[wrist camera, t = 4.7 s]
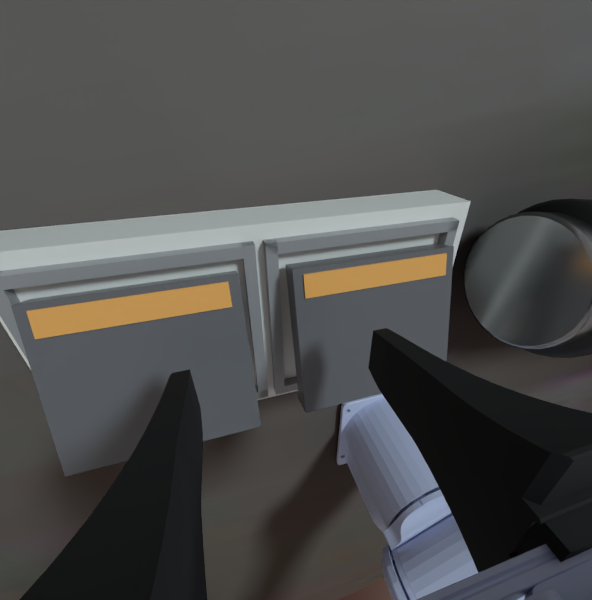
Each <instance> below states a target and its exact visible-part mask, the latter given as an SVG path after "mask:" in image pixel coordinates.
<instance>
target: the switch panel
mask: <svg viewBox="0 0 592 600" xmlns="http://www.w3.org/2000/svg"><path fill="white" fill-rule="evenodd" d="M470 202H471V201H468V200H465V199H462V198H459V197H456V196H453V195H450V194H447V193H444V192H442V191H439V190H429V191H418V192H408V193H397V194H386V195H376V196H365V197H354V198H344V199H333V200H322V201H312V202H301V203H291V204H280V205H269V206H259V207H248V208H237V209H227V210H216V211H205V212H195V213H184V214H173V215H163V216H152V217H142V218H131V219H120V220H110V221H99V222H88V223H78V224H67V225H56V226H46V227H35V228H24V229H14V230H3V231H0V322H1V323H2V325H3V326H4V328H5V330H6V331H7V333H8V334H9V336H10V338H11V339H12V341H13V342H14V344H15V346H16V347H17V349H18V350H19V352H20V354H21V355H22V357H23V358H24V360H25V362H26V363H27V365H28V366H29V368H30V365H29V361H28V358H27V355H26V352H25V349H24V346H23V343H22V339H21V336H20V333H19V330H18V327H17V324H16V320H15V317H14V314H13V311H12V308H11V305H14V304H17V303H20V302H23V301H26V300H29V299H34V298H42V297H49V296H56V295H63V294H70V293H78V292H85V291H92V290H99V289H106V288H114V287H121V286H128V285H135V284H142V283H150V282H157V281H164V280H171V279H178V278H186V277H193V276H200V275H207V274H214V273H222V272H229V271H237V273H238V276H239V282H240V289H241V296H242V302H243V309H244V315H245V322H246V328H247V335H248V342H249V348H250V355H251V361H252V368H253V375H254V381H255V388H256V394H257V400H261V399H265V398H269V397H273V396H278V395H282V394H286V393H290V392H295V391H298V387H297V377H296V367H295V357H294V347H293V337H292V327H291V316H290V306H289V296H288V286H287V276H286V266H285V265H287V264H294V263H301V262H308V261H315V260H323V259H330V258H337V257H344V256H351V255H358V254H365V253H373V252H380V251H387V250H394V249H401V248H408V247H416V246H423V245H430V244H442V245H448V246H454V252H453V264H454V261H455V257H456V253H457V250H458V246H459V242H460V239H461V235H462V231H463V228H464V224H465V220H466V217H467V213H468V209H469V206H470ZM30 370H31V368H30Z"/></svg>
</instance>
